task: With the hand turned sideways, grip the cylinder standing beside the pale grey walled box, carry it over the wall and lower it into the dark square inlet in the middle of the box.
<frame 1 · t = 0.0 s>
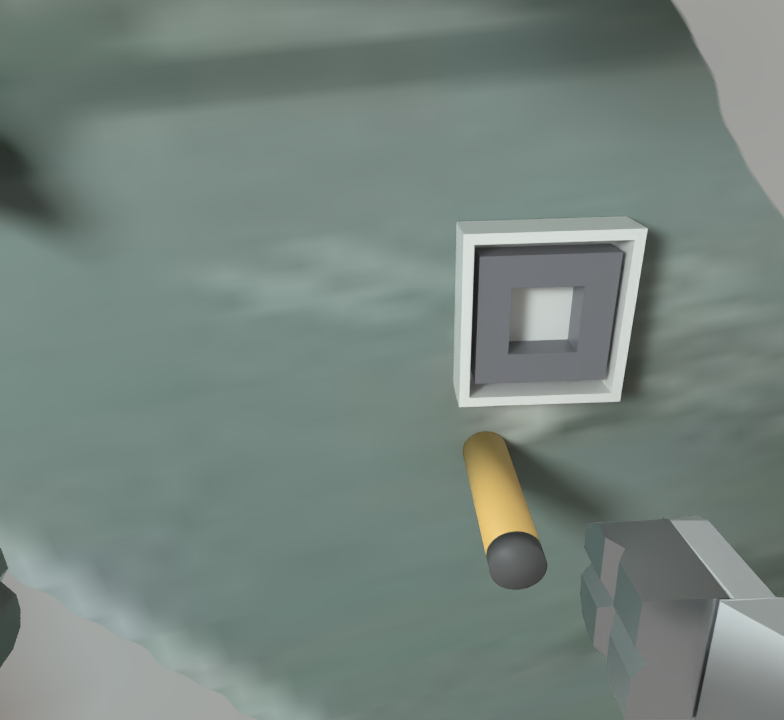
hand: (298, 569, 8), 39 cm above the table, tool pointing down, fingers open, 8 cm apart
walled box: (534, 305, 48), on the table
cylinder: (484, 449, 54), on the table
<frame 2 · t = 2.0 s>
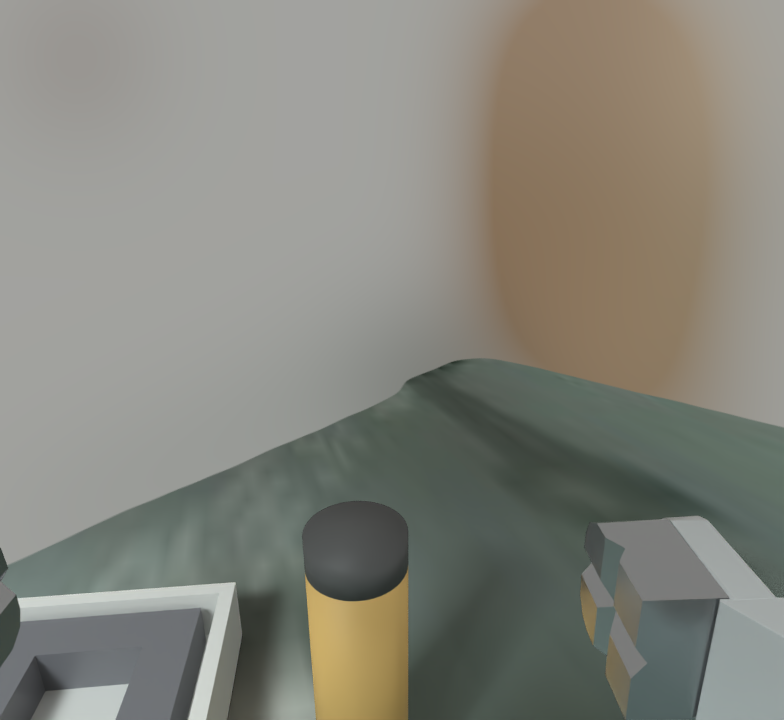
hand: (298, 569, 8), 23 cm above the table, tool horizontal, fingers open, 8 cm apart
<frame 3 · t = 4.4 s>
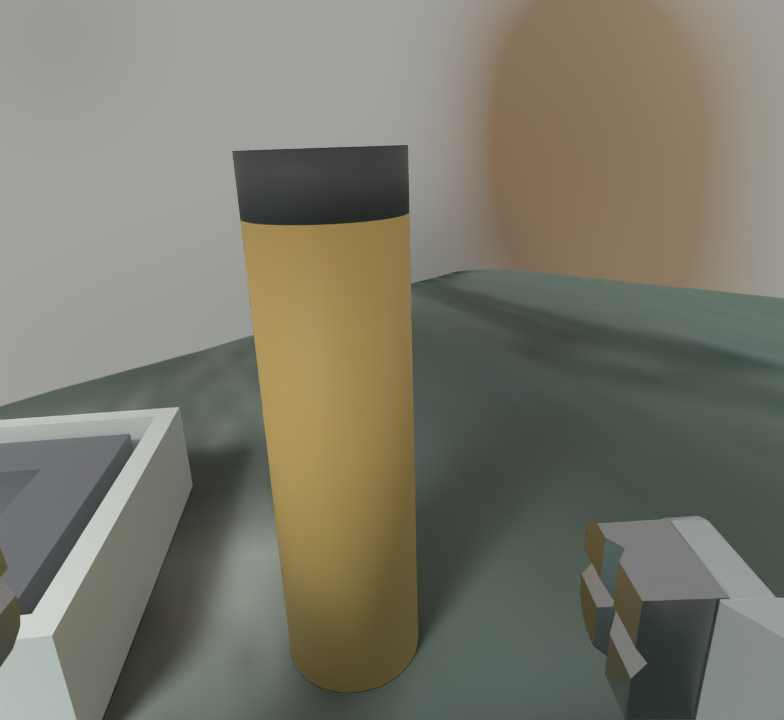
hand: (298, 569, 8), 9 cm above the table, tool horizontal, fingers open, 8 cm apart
cylinder: (354, 637, 19), on the table
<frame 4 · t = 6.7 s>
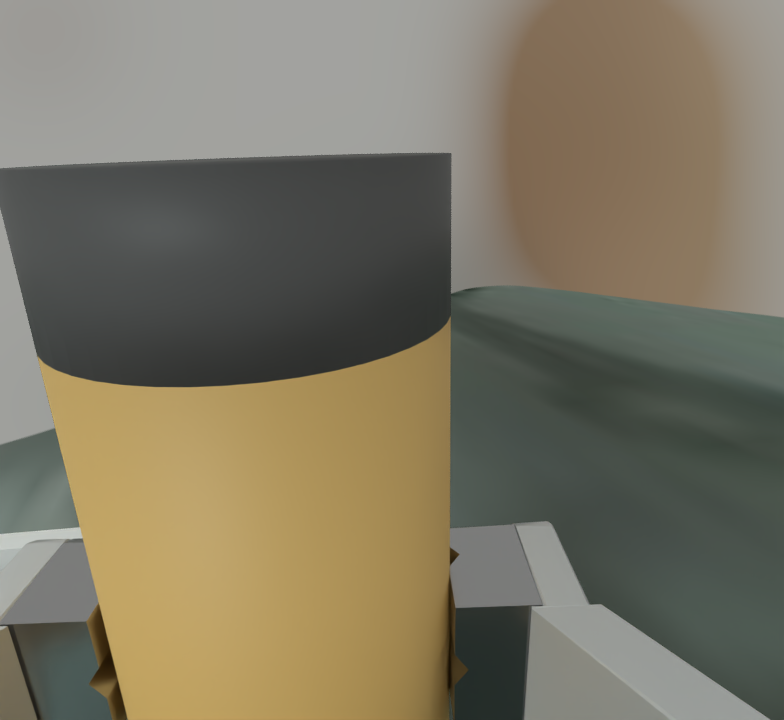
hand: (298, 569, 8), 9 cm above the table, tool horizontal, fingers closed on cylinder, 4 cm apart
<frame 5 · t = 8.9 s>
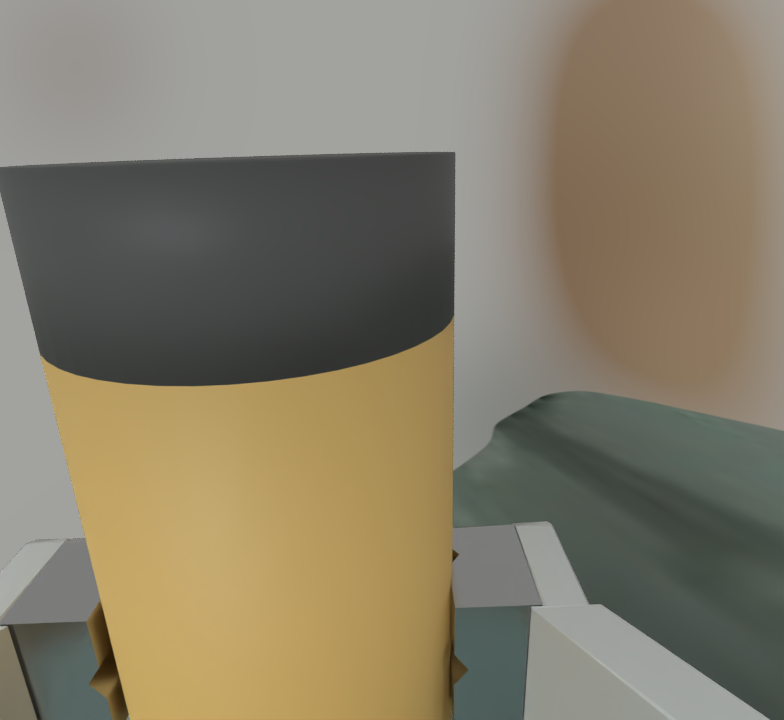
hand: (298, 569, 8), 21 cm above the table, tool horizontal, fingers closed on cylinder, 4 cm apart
when the fingers open (11 cm above the table, at t = 11.6 s): cylinder stays where it is, resting on walled box.
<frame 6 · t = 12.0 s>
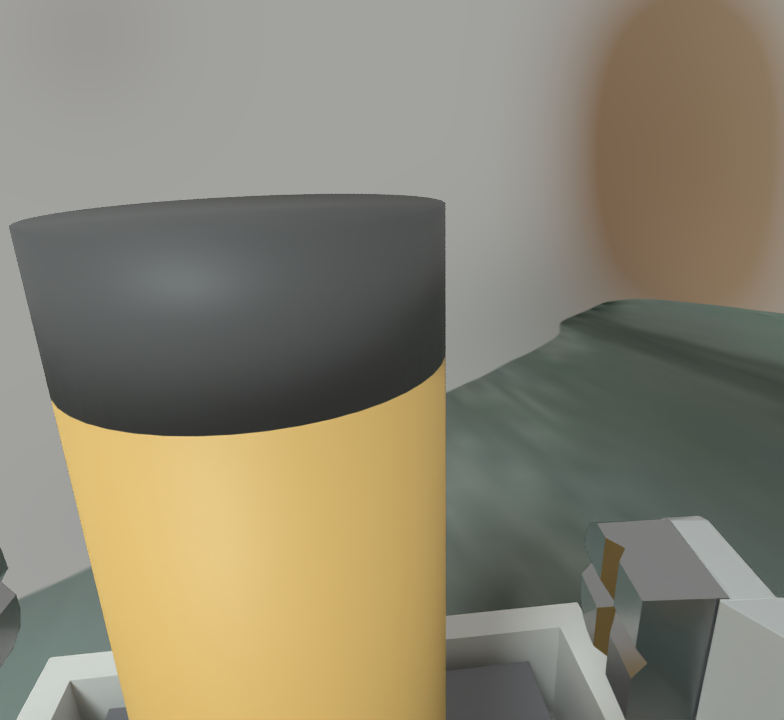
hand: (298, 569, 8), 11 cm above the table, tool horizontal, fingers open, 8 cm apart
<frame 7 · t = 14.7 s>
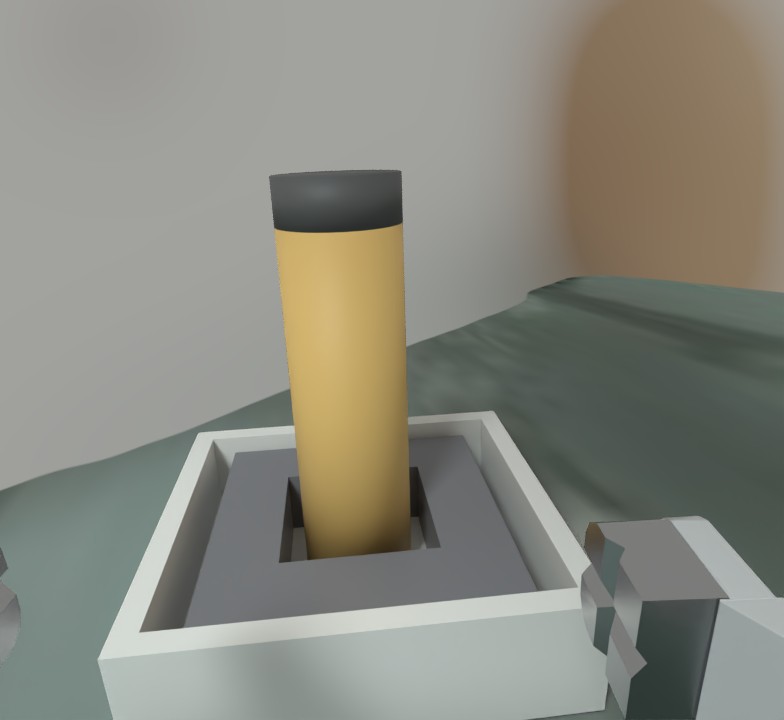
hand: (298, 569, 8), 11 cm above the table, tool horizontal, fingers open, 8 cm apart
walled box: (361, 584, 23), on the table
cylinder: (360, 563, 23), point 1 cm above the table, touching walled box
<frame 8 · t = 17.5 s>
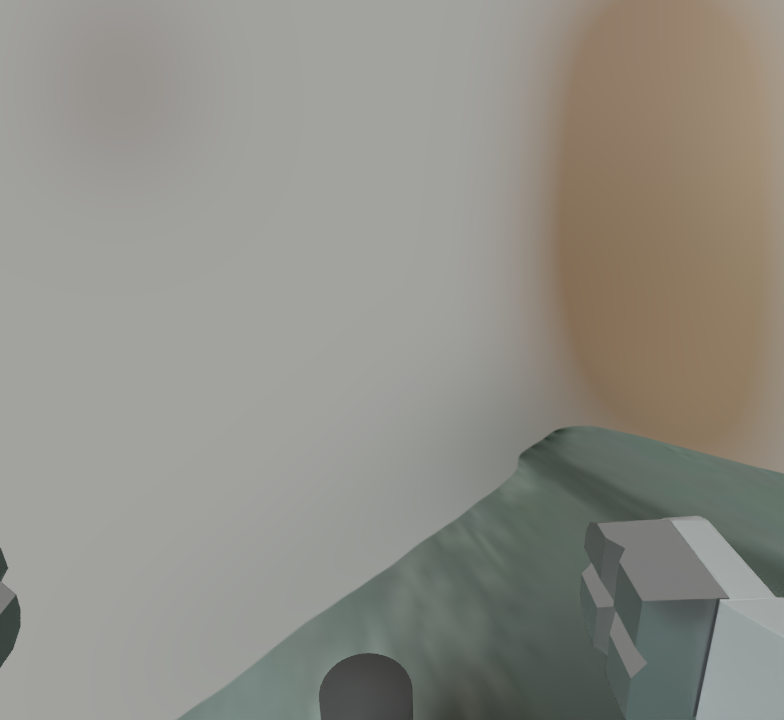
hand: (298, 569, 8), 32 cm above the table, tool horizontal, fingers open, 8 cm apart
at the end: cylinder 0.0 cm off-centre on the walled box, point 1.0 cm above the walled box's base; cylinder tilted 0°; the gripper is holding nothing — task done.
